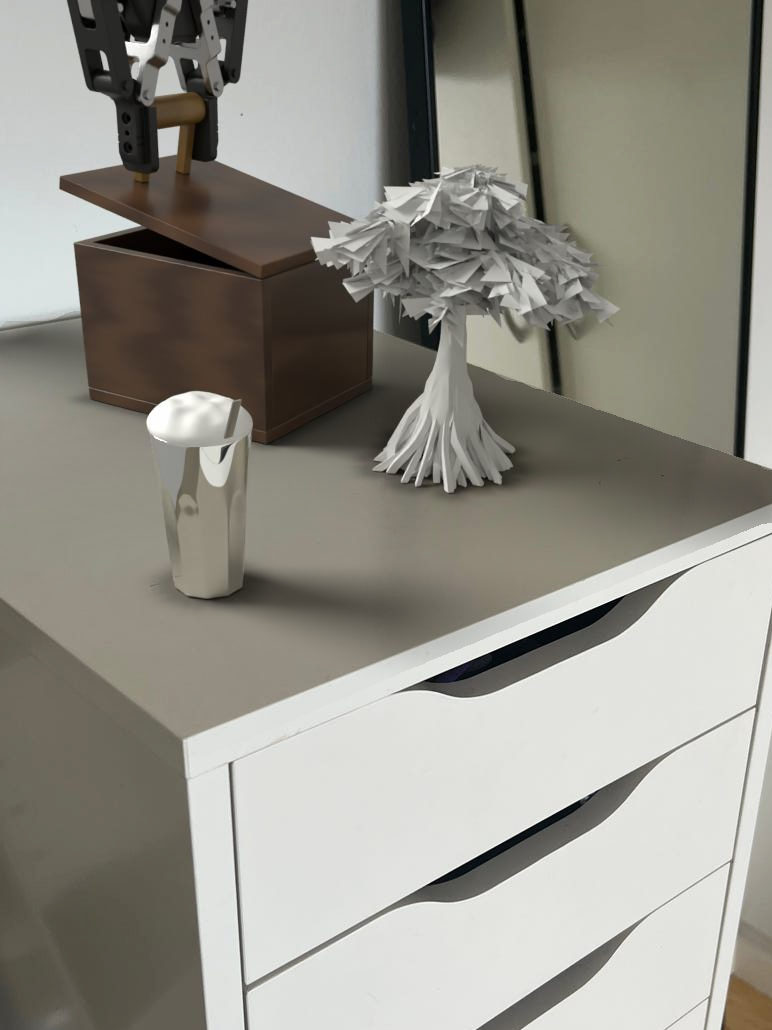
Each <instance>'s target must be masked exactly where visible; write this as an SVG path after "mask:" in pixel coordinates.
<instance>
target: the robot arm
mask: <svg viewBox="0 0 772 1030" xmlns="http://www.w3.org/2000/svg"><path fill="white" fill-rule="evenodd" d="M66 3H67V7H68V12H69V17H70V21H71V25H72V30H73V34H74V39H75V43H76V47H77V52H78V57H79V60H80V65H81V69H82V74H83V78H84V83H85V86H86V88H87V89H88V90H89V91H90V92H93V93H94V92H95V93H100V94H101V95H102V94H103V95H105V96H107V97H109V98H110V99H111V100H112V101H113V103H114V106H115V113H116V129H117V134H118V135H117V140H118V143H117V144H118V154H119V157H120V160H121V162H122V164H123V165H124V167H125V168H126V169H127V170H128V171H133V172H138V173H143V174H150V173H155V172H157V171H158V169H159V158H160V152H159V131H158V130H159V129H157V109H156V107H153V106H150V105H151V104H152V103H153V101H154V97H155V96H156V91H157V85H158V79H159V74H160V70H161V69H162V67H165V66H166V65H167V63H168V61H169V57H170V58H171V59H172V60H173V64H174V66H175V70H176V71H175V72H176V74H177V77H178V78H177V79H178V82H179V85H180V88H181V90H182V91H183V93H186V92H194V93H197V94H198V95H199V96H200V97H201V98H202V99H203V101H204V104H205V109H206V112H205V116H204V118H203V120H202V121H201V122H200V123H196V124H195V132H194V142H193V151H192V160H196V161H202V162H209V161H214V160H215V161H216V159H217V157H218V146H219V125H218V124H219V112H218V111H219V109H218V108H219V107H218V105H219V104H218V98H220V97H221V96H222V95H223V93H224V88H225V87H226V86H227V85H229V84H233V85H235V84H237V83H239V81H240V79H241V73H242V72H241V71H242V66H243V65H242V64H243V55H244V45H245V37H246V27H247V16H248V7H249V0H66ZM132 37H133V39H134V42H131V38H132ZM220 40H225V49H224V57H223V60H222V59H218V55H220V54H221V52H222V44H221V41H220ZM137 42H138V43H137ZM101 52H102V53H103V54H104V55H105V57H106V61H107V67H108V69H105V67H104V63H103V59H102V54H101ZM194 61H196V62H197V67H195V63H194ZM135 63H139V64H138V67H137V75H136V78H133V74H132V68H133V64H135Z"/></svg>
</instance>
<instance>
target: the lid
mask: <svg viewBox="0 0 772 1030" xmlns="http://www.w3.org/2000/svg"><path fill="white" fill-rule="evenodd" d="M150 106H153V107H156V109H157V129H158V130H164V129H171V128H176V127H179V130H178V139H177V149H176V154H171V155H165V156H159V169H158V171H157V172H155V173H150V174H143V173H138V172H133V171H128V170H127V169H126V168H125V167H124V165H123V163H122V164H117V165H112V166H106V167H102V168H96V169H91V170H86V171H79V172H75V173H69V174H63V175H60V176H59V181H58V183H59V184H58V185H59V186H58V189H59V190H61V191H62V192H65V193H67V194H69V195H72V196H74V197H76V198H79V199H81V200H82V201H85V202H88V203H90V204H92V205H94V206H97V207H99V208H100V209H103V210H106V211H107V212H110V213H112V214H115V215H116V216H119V217H121V218H123V219H126V220H128V221H130V222H132V223H135V224H137V225H138V226H144V227H146V228H148V229H150V230H153V231H155V232H157V233H159V234H162V235H164V236H166V237H168V238H171V239H173V240H175V241H178V242H180V243H182V244H184V245H187V246H189V247H191V248H193V249H196V250H198V251H200V252H202V253H205V254H207V255H209V256H211V257H214V258H216V259H218V260H220V261H223V262H225V263H227V264H229V265H232V266H234V267H236V268H238V269H241V270H243V271H245V272H247V273H250V274H252V275H254V276H256V277H259V278H263V277H266V276H269V275H272V274H275V273H278V272H281V271H284V270H287V269H290V268H293V267H296V266H299V265H302V264H304V263H307V262H310V261H313V260H316V259H317V255H316V253H315V250H314V248H313V246H312V244H311V241H312V239H311V237H317V238H327V239H331V238H330V233H329V230H331V229H330V226H329V223H328V221H330V222H337V223H341V221H342V222H345V223H348V224H351V222H354V220H357V221H359V220H358V219H356V218H353V217H352V216H349V215H346V214H344V213H342V212H339V211H336V210H335V209H332V208H329V207H327V206H324V205H322V204H321V203H317V202H315V201H313V200H311V199H308V198H306V197H303V196H301V195H298V194H296V193H293V192H291V191H289V190H286V189H284V188H282V187H280V186H277V185H274V184H272V183H270V182H267V181H265V180H263V179H260V178H258V177H255V176H253V175H251V174H248V173H246V172H243V171H241V170H240V169H236V168H234V167H232V166H230V165H227V164H224V163H222V162H220V161H217V160H216V159H215V160H214V161H209V162H202V161H196V160H192V151H193V142H194V132H195V124H196V123H200V122H201V121H202V120H203V118H204V116H205V112H206V109H205V104H204V101H203V99H202V98H201V97H200V96H199V95H198V94H197V93H194V92H179V93H171V94H163V95H155V97H154V101H153V103H152V104H151V105H150ZM310 240H311V241H310Z"/></svg>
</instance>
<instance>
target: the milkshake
mask: <svg viewBox="0 0 772 1030" xmlns="http://www.w3.org/2000/svg"><path fill="white" fill-rule="evenodd" d="M241 401H242V399H239V400H232V399H230V398H227V397H223V396H221V395H217V394H213V393H208V392H201V391H192V392H187V393H183V394H179V395H176V396H173V397H170V398H168V399H167V400H165V401H163V402H162V403H160V404H159V405H157V406H156V407H155V408H154V409H153V410H152V411H151V413H150V414H148V416H147V418H146V428H147V433H148V437H149V442H150V447H151V448H150V449H151V453H152V458H153V464H154V468H155V475H156V480H157V484H158V485H157V486H158V490H159V496H160V502H161V510H162V515H163V522H164V528H165V535H166V541H167V547H168V552H169V553H168V554H169V560H170V566H171V572H172V573H171V574H172V578H173V579H172V580H173V584H174V588H176V589H177V590H178V591H180V592H181V593H182V594H184V595H185V596H187V597H194V598H199V599H205V600H206V599H207V600H209V599H214V598H215V599H216V598H222V597H229V596H230V595H232V594H233V593H235V592H237V591H238V590H240V589H242V588H243V586H244V585H243V584H244V575H245V552H246V551H245V550H246V525H247V502H248V485H249V478H250V467H251V454H252V441H253V440H252V427H253V421H252V418H251V416H250V414H249V413H248V412H247V411H246V410H245V409H244V408H243V407H242V406H241Z"/></svg>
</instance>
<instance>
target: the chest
mask: <svg viewBox="0 0 772 1030" xmlns="http://www.w3.org/2000/svg"><path fill="white" fill-rule="evenodd" d="M73 253H74V261H75V271H76V280H77V289H78V300H79V301H78V302H79V309H80V310H79V311H80V317H81V319H80V320H81V328H82V337H83V338H82V339H83V348H84V357H85V367H86V376H87V377H86V378H87V386H88V393H89V399H90V400H94V401H98V402H101V403H105V404H108V405H113V406H117V407H121V408H125V409H129V410H133V411H137V412H140V413H144V414H148V415H149V414H150V413H151V411H152V410H153V409H154V408H155V407H156V406H157V405H159V404H160V403H162V402H163V401H165V400H167V399H168V398H170V397H173V396H176V395H179V394H183V393H187V392H192V391H201V392H208V393H213V394H217V395H221V396H223V397H227V398H230V399H232V400H239V399H242V401H241V406H242V407H243V408H244V409H245V410H246V411H247V412H248V413H249V414H250V416H251V418H252V421H253V427H252V441H253V442H256V443H261V444H265V445H268V444H269V443H271V442H273V441H275V440H277V439H279V438H281V437H282V436H285V435H287V434H288V433H291V432H292V431H294V430H296V429H298V428H299V427H302V426H304V425H305V424H307V423H309V422H311V421H313V420H314V419H316V418H318V417H319V418H320V417H321V416H322V415H325V414H326V413H328V412H330V411H332V410H333V409H336V408H338V407H339V406H341V405H343V404H345V403H347V402H349V401H351V400H353V399H354V398H356V397H358V396H360V395H363V394H364V393H366V392H368V391H370V390H372V389H373V376H374V375H373V373H374V372H373V371H374V370H373V369H374V326H375V325H374V319H375V318H374V315H375V289H374V290H373V291H371V292H370V293H369V294H367V295H366V296H365V297H363V298H362V299H361V300H359V301H358V302H355V300H354V299H353V297H352V296H351V294H350V293H349V292H348V290H347V289H346V288H345V286H344V285H343V279H347V278H351V277H352V271H351V273H350V268H349V269H348V270H347V263H346V264H344V265H343V266H342V267H340V268H339V269H338V270H337V268H336V267H335V265H331V266H329V267H327V263H326V264H323V265H321V264H320V262H319V259H317V260H313V261H310V262H307V263H304V264H302V265H299V266H296V267H293V268H290V269H287V270H284V271H281V272H278V273H275V274H272V275H269V276H266V277H263V278H259V277H256V276H254V275H252V274H250V273H247V272H245V271H243V270H241V269H238V268H236V267H234V266H232V265H229V264H227V263H225V262H223V261H220V260H218V259H216V258H214V257H211V256H209V255H207V254H205V253H202V252H200V251H198V250H196V249H193V248H191V247H189V246H187V245H184V244H182V243H180V242H178V241H175V240H173V239H171V238H168V237H166V236H164V235H162V234H159V233H157V232H155V231H153V230H150V229H148V228H146V227H144V226H141V225H138V226H134V227H130V228H126V229H122V230H117V231H113V232H111V233H106V234H103V235H98V236H94V237H91V238H86V239H83V240H78V241H74V242H73ZM365 267H367V264H366V265H365ZM365 267H364V268H365ZM364 272H365V270H364V269H363V271H362V273H364ZM362 273H361V274H362ZM358 275H359V272H358V273H357V274H356V275H355V276H358ZM355 276H353V277H355ZM369 279H370V278H369Z"/></svg>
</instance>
